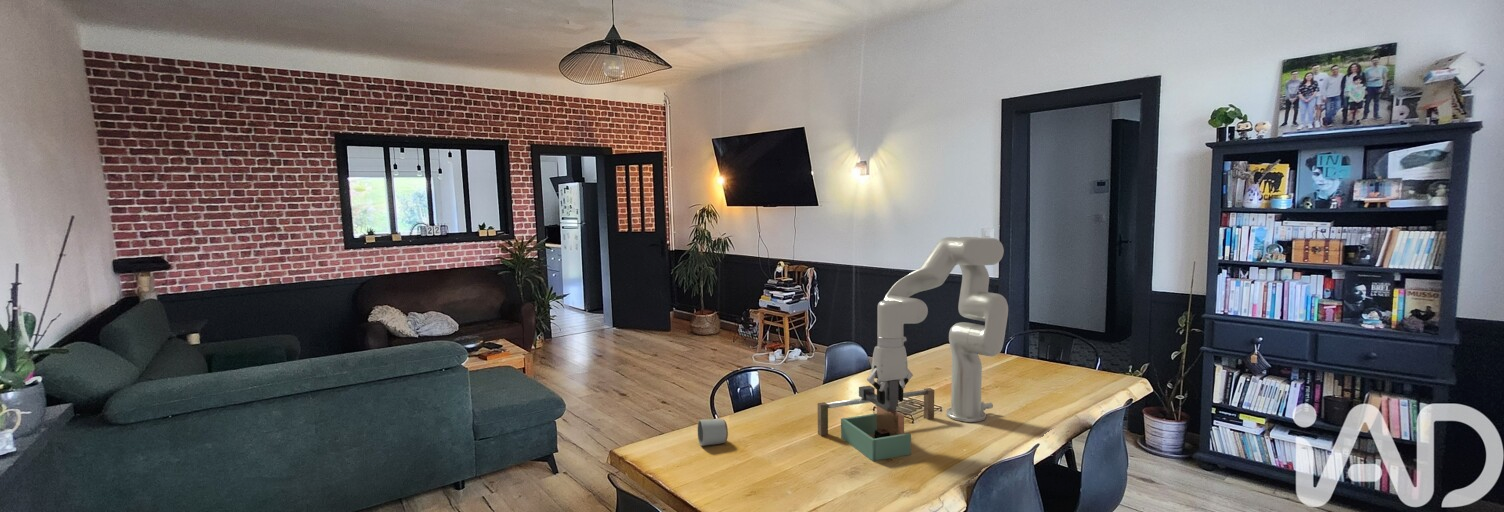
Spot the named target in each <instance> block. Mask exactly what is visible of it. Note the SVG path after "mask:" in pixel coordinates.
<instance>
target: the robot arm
mask: <svg viewBox="0 0 1504 512" xmlns="http://www.w3.org/2000/svg"><path fill="white" fill-rule="evenodd" d="M1004 252H1005V250H1004V245H1003V244H1002V242H1001V240H999V239H997V238H991V237H977V236H961V237H960V236H959V237H953V236H950V237H949V236H948V237H943V238H941V239H940V240H939V241H938V242H937V243H936V245H935V246H934V247H933V249H932V250H931V251H930V252H929V255H928V256H927V257H926V259H925V260H924V262H923V263H922V264H921V265H920V267H919V268H917V269H915V270H914V271H911V272H910V273H909V274H907V275H905V276H904V277H902V278H900V279H898V281H896V282H895V283H894V284H893V285H892V286H891V288H890V289H889V290H888V292H887V293H886V294H885V296H884V298H883V300H880V301H879V302H878V303H877V312H876V314H877V326H876V327H877V328H876V329H877V330H876V331H877V344H876V346H874V349H873V353H872V358H871V359H872V362H871V373H870V374H869V375H868V377H867V379H866V381H867V382H869V384H871V386H872V387H874V388H875V390H876V395H877V401H878V402H879V403H881V404H885V391H883V389H884V385H885V382H886V381H893V380H898V402H900V403H902V402H904V398H903V393H904V389H906V385H907V384H908V383H909V381H910V380H911V378H912V377H913V376H914V374H913V373H912V372H911V370H910V369H909V368H908V366H909V365H908V356H907V351H906V346H905V345H904V343H905V342H907V341H908V340H907V339H908V338H907V337H906V336H904V325H905V324H908V325H909V324H910V325H911V324H913V325H914V324H916V325H917V324H919V323H922V322H924V321H925V319H926V318H927V317H928V313H929V311H928V310H929V309H928V306H927V304H926V302H924V301H923V300H922V299H919V298H916V297H915V298H914V297H911V296H913V295H915V294H918V293H920V292H923V291H924V292H925V291H929V290H932V289H935V288H938V287H940V286H942V285H943V284H944V283H945V281H946V280H947V278H948V277H949V275H951V272H952V271H953V270H954V268H955V267H956V266H958V265H959V267H960V268H959V269H960V270H961V274H962V278H961V286H960V292H959V299H958V306H957V307H958V308H957V309H958V313H959V315H960V316H961V317H963V318H966V319H970V320H974V321H975V320H976V321H979V322H984V325H982V324H979V323H977V324H976V323H971V322H965V321H964V322H963V321H962V322H956V323H955V324H954V325H952V326H951V327H950V329H949V332H948V341H949V347H950V348H949V349H950V352H951V354H950V356H951V389H950V391H951V395H950V396H951V397H950V404H951V406H950V407H949V408H947V409H946V416H947V417H948V418H950V419H951V420H955V421H958V422H965V423H977V422H982V421H984V420H985V419H986V417H987V414H986V412H985V411H986V410H988V409H992V408H994V404H993V403H992V402H987V403H985V402H984V401H982V386H983V385H982V384H983V383H982V379H983V375H982V372H983V370H982V369H983V368H982V367H983V366H982V361H981V359H980V357H979V355H980V356H985V357H989V358H990V357H992V358H993V357H996V356H998V355H999V354H1000V353H1001V351H1002V349H1003V346H1004V343H1005V335H1006V329H1007V322H1008V318H1009V305H1008V301H1007V298H1005V297H1004V295H1002V294H1000V293H997V292H996V293H994V292H989V284H990V275H989V272H988V269H987V267H986V266H993V265H997V264H999V262H1001V260H1002V259H1003V256H1004ZM875 379H876V380H875Z"/></svg>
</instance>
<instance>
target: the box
mask: <svg viewBox="0 0 1504 512" xmlns="http://www.w3.org/2000/svg"><path fill="white" fill-rule="evenodd" d="M875 430H877V412H876V413H872V414H871V413H870V414H864V415H857V416H851V417H844V418H843V417H842V418H840V438H841V439H842V440H843V441H844V442H846V443H848V444H849V445H850V446H851V447H853V448H854V449H856V450H857V451H858V452H860V453H861V454H862V455H864V456H865V457H866V458H868V460H870V461H871V462H874V461H875V462H876V461H881V460H882V461H883V460H886V459H893V458H896V457H897V458H898V457H905V456H909V455H912V454H911V453H912V450H911V449H912V448H911V447H912V434H911V433H909V432H908V433H904V434H900V435H894V436H887V437H881V438H875V439H874V437H872V436H870V435H874V433H875Z"/></svg>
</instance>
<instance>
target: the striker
mask: <svg viewBox="0 0 1504 512" xmlns="http://www.w3.org/2000/svg"><path fill="white" fill-rule="evenodd" d="M875 390H876V389H875V387H874V386H873V385H866V386H865V385H864V386H862V385H861V386H859V387H858V397H860V399H861V398H863V399H867V400H868V401H870V403H872V404H874V405H876V413H877V429H885V430H886V431H888V432H890V436H894V435H900V434H905V415H903V414H902V413H900V412H898V411H897V408H898V407H899V401H898V380H893V381H886V382H885V385H884V389H883V391H885V404H881V403H879V402H878V401H877V393H875Z"/></svg>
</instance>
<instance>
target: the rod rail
mask: <svg viewBox="0 0 1504 512" xmlns="http://www.w3.org/2000/svg"><path fill="white" fill-rule="evenodd" d="M918 396H923V418H924V419H926V420H928V421H929V420H935V389H933V388H931V387H927V388H923V389H922V390H915V391H914V390H913V391H905V392H903V399H905V398H912V397H918ZM869 403H871V402H870V401H868V400H867V399H863V398H861V397H860V398H855V399H854V398H853V399H848V400H841V401H833V402H817V434H818V435H819V436H821V437H825V436H829V409H832V408H840V407H847V406H848V407H849V406H853V405H860V404H869Z"/></svg>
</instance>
